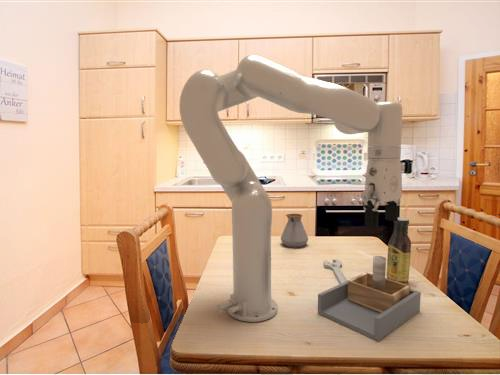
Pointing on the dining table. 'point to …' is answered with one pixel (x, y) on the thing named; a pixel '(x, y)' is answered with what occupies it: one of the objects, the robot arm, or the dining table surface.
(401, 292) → the crate
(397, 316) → the bay
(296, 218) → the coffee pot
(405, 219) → the sauce bottle
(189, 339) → the dining table surface
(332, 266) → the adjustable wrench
